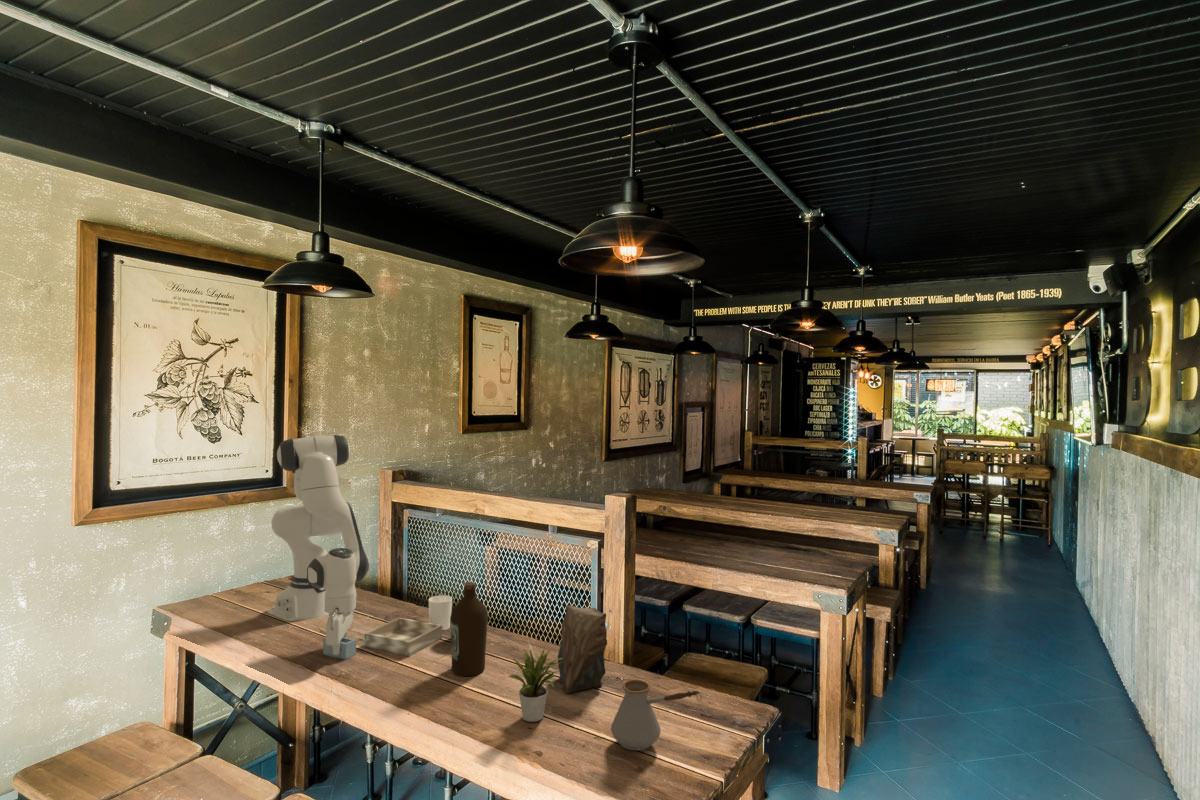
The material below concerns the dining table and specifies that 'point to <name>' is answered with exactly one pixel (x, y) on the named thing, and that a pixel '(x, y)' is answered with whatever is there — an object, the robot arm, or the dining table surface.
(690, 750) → the dining table surface
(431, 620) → the white cup
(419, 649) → the beige shallow tray
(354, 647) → the box
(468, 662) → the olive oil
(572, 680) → the brown rock
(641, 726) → the coffee pot
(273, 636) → the dining table surface
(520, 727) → the dining table surface
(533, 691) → the house plant
